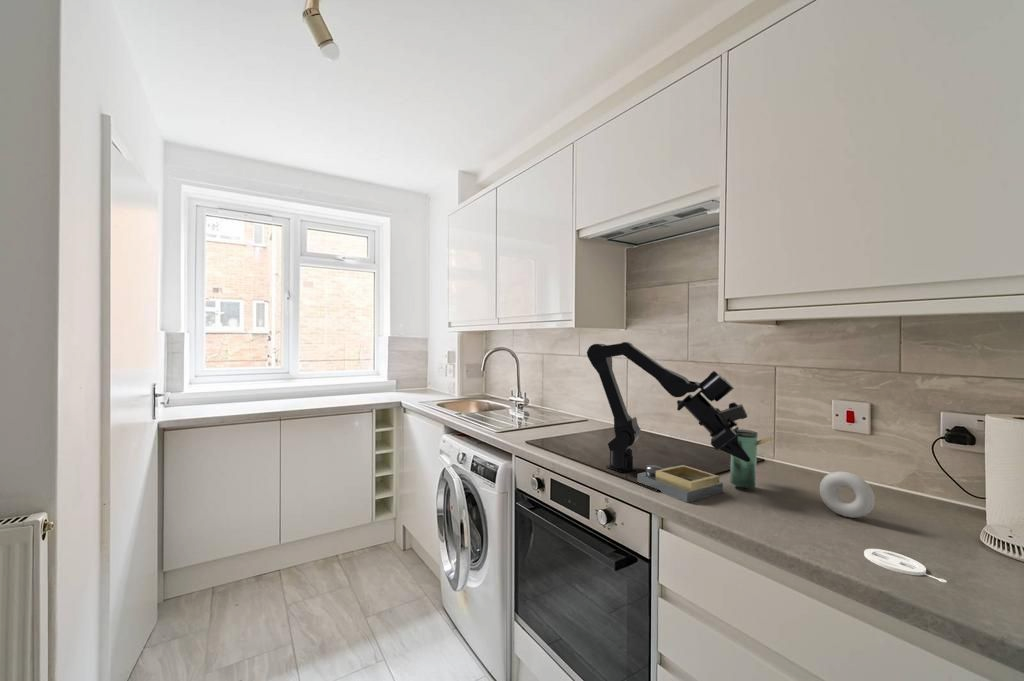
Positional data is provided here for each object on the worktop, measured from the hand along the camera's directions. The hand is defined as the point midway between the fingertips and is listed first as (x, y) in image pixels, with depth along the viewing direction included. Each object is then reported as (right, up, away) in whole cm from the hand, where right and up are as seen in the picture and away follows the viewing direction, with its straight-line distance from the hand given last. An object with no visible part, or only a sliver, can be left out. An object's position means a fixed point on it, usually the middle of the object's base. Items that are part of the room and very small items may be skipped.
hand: (749, 458), depth 111 cm
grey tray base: (-19, -8, +1) cm, 20 cm away
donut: (+12, -9, -17) cm, 23 cm away
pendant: (+6, -9, -38) cm, 39 cm away
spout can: (0, -7, 0) cm, 7 cm away
